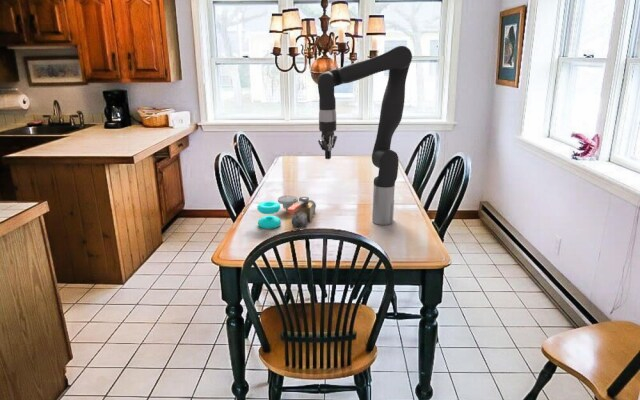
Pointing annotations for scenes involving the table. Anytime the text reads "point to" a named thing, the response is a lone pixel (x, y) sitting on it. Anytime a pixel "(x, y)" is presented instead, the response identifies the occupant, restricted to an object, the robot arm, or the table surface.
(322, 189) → the table surface
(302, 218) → the valve body
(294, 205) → the lever
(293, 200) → the showerhead
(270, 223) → the donuts
